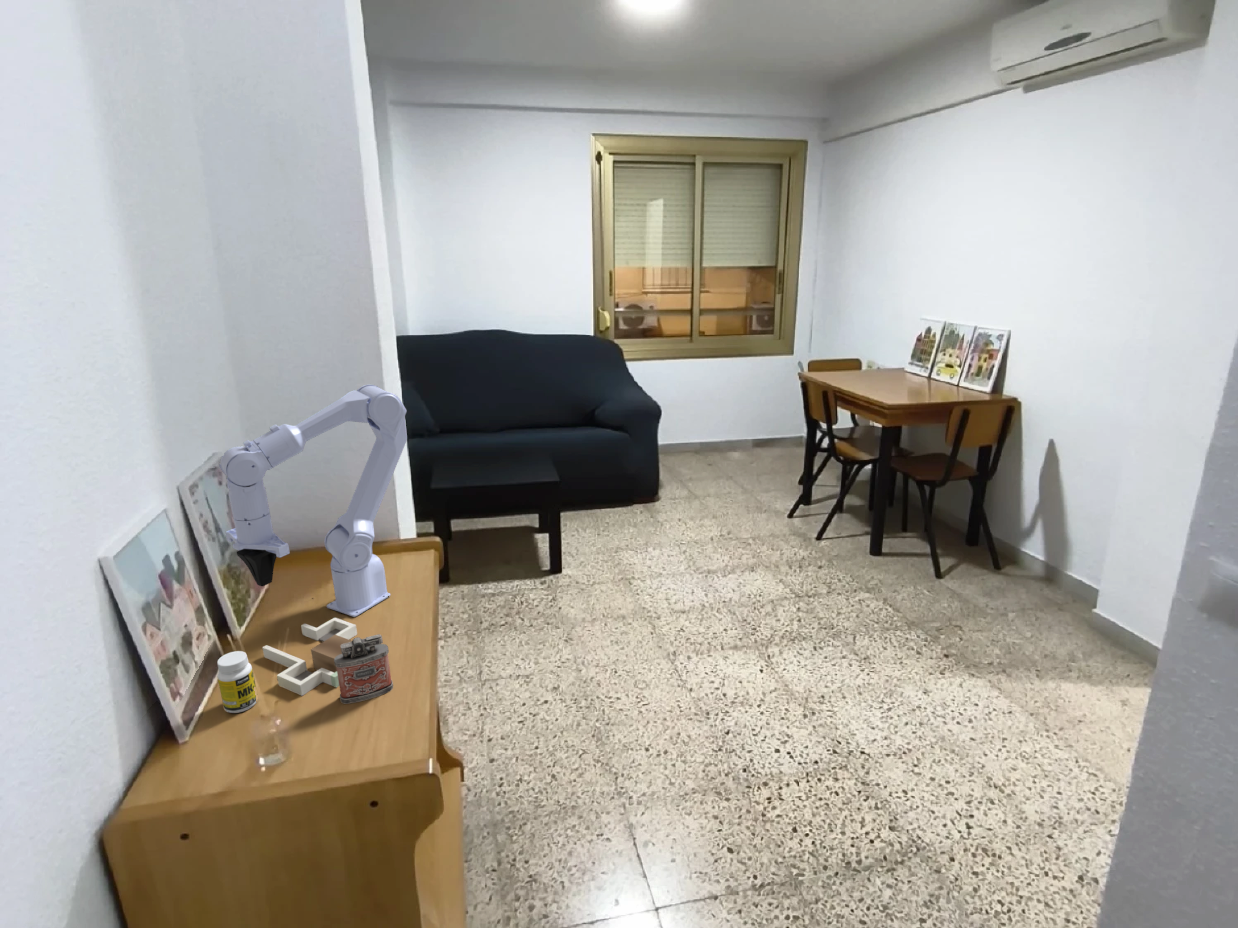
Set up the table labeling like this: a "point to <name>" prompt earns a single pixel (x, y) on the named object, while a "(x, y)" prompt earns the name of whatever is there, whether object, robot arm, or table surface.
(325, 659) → the block
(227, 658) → the supplement bottle
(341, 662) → the lighter
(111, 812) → the table surface
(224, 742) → the table surface
